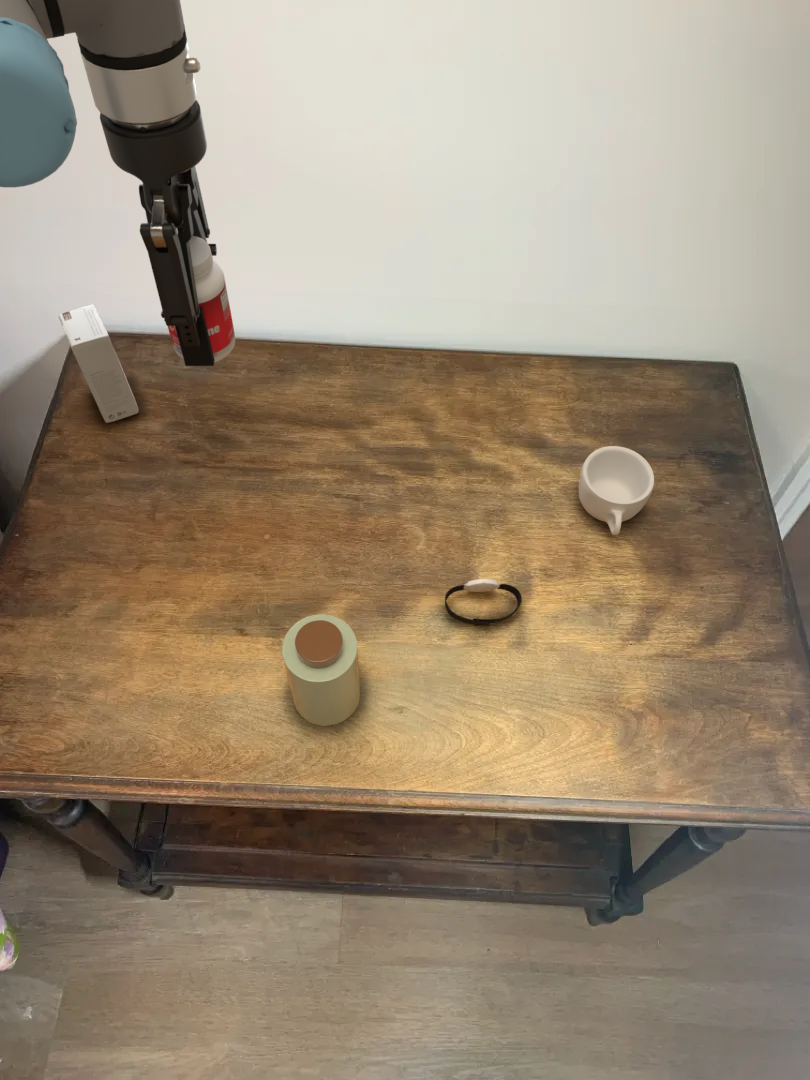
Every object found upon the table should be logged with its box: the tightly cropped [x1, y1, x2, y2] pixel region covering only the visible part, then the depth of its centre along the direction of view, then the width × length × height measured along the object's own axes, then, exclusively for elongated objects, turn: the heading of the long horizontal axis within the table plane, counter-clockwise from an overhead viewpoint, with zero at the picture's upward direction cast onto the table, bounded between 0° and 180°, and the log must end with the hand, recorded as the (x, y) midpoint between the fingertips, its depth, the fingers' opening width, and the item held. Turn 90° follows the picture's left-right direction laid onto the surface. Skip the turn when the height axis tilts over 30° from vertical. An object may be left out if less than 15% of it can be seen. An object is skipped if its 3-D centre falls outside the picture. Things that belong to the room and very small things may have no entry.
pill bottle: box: [167, 236, 236, 363], centre depth 76 cm, size 6×6×11 cm
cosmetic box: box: [58, 303, 140, 424], centre depth 93 cm, size 6×4×12 cm
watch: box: [444, 578, 523, 627], centre depth 81 cm, size 8×5×4 cm, turn 93°
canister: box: [281, 613, 361, 727], centre depth 73 cm, size 6×6×11 cm
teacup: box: [578, 445, 655, 536], centre depth 88 cm, size 10×8×5 cm
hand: (203, 338), depth 80 cm, fingers closed on pill bottle, 6 cm apart
